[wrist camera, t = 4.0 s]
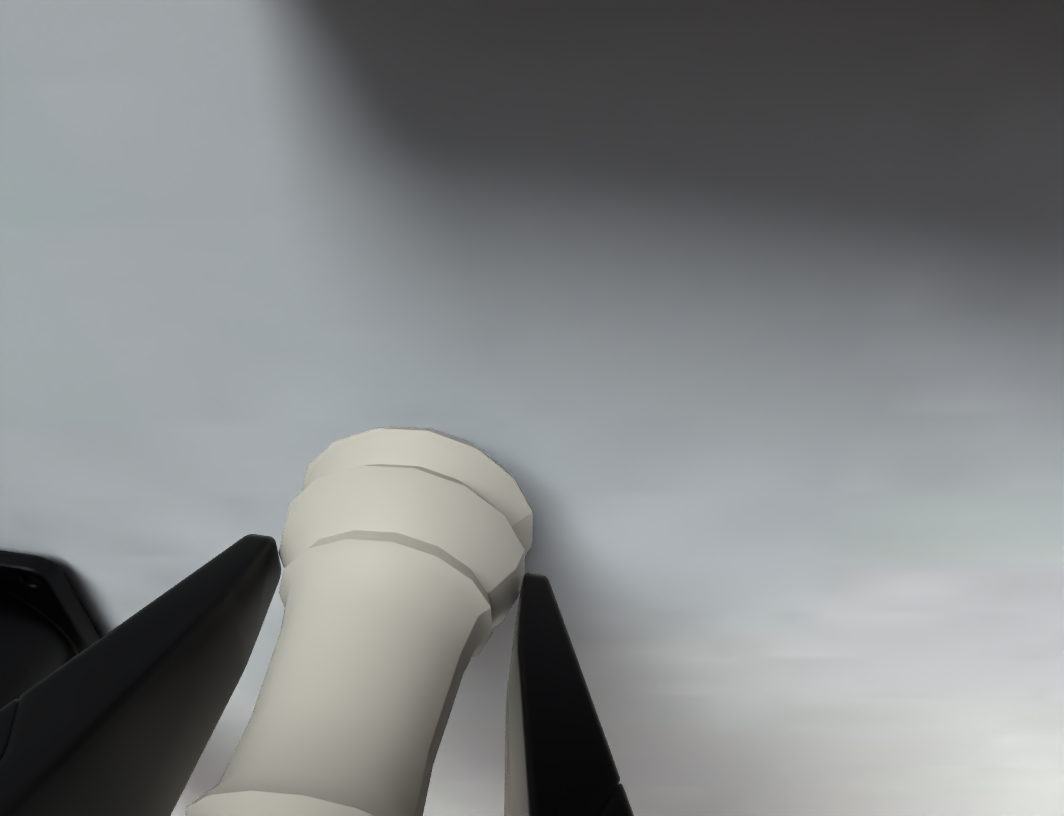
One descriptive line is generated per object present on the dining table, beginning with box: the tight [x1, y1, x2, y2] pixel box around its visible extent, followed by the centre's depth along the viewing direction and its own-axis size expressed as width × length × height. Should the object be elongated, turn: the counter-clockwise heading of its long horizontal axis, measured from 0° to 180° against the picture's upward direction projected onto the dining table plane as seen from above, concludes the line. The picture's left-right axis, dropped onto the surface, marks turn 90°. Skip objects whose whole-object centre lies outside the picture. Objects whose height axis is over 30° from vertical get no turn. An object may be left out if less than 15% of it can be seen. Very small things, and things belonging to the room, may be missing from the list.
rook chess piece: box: [185, 427, 533, 816], centre depth 8 cm, size 4×4×8 cm
